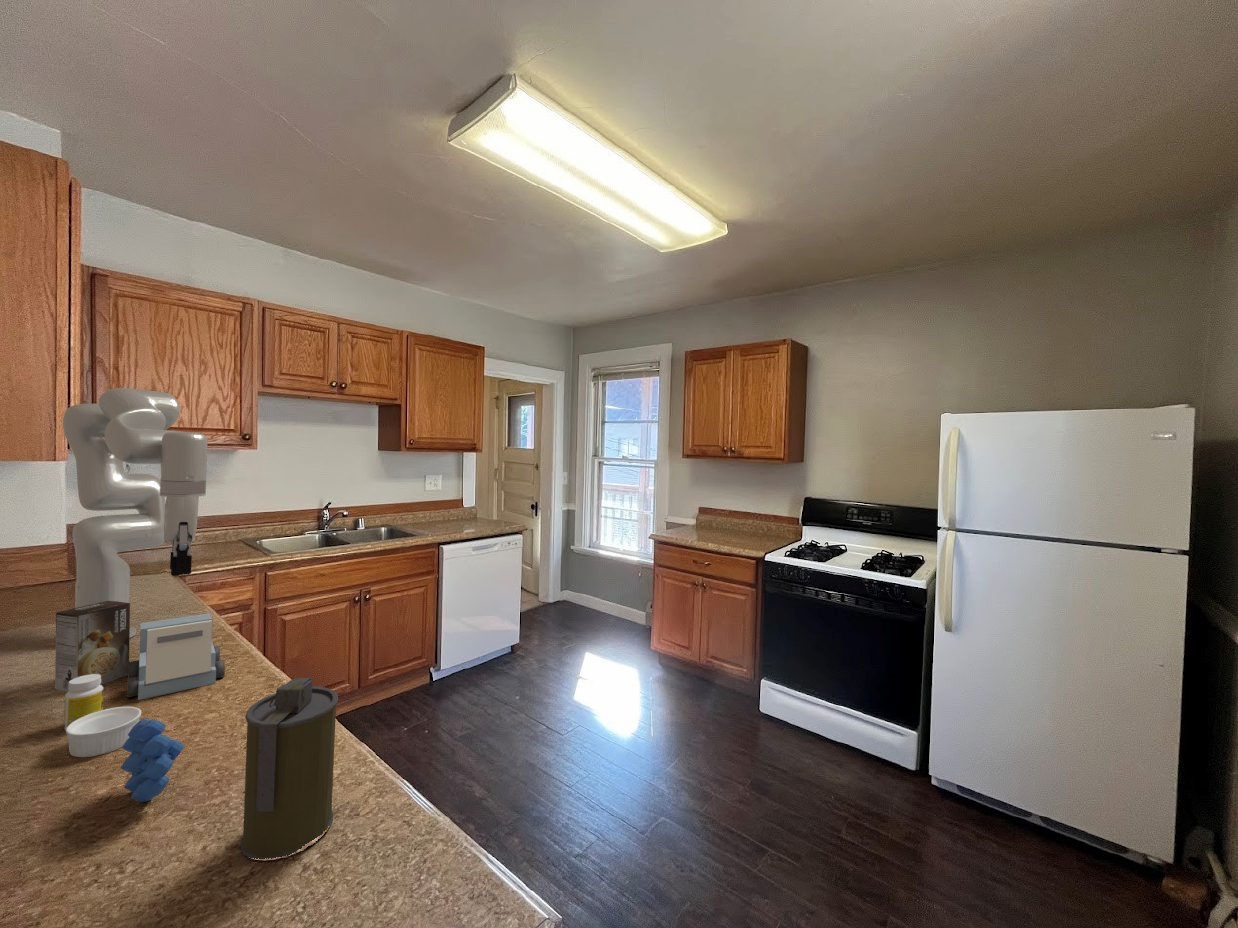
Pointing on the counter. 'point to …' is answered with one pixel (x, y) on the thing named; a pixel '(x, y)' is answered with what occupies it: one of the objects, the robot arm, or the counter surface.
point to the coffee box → (92, 642)
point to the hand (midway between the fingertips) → (180, 571)
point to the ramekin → (101, 731)
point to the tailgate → (178, 652)
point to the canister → (289, 769)
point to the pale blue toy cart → (139, 676)
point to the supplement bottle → (83, 698)
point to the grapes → (149, 759)
